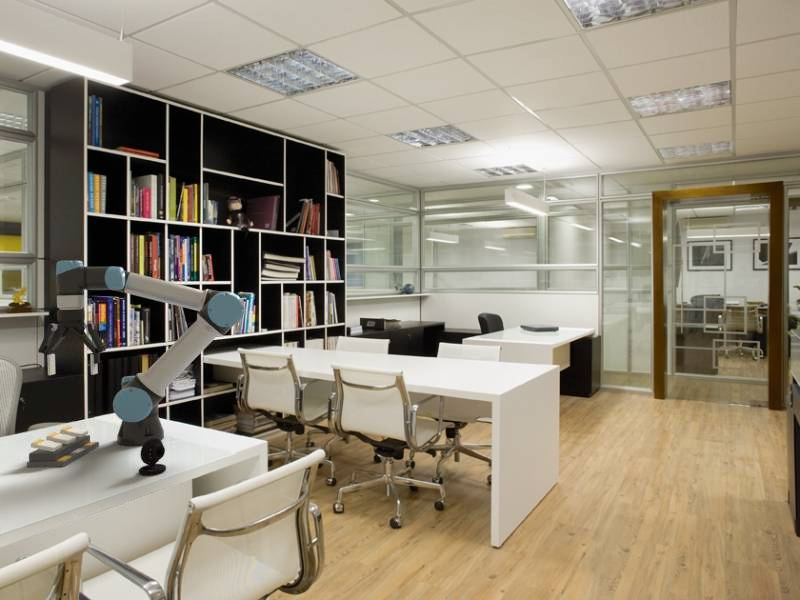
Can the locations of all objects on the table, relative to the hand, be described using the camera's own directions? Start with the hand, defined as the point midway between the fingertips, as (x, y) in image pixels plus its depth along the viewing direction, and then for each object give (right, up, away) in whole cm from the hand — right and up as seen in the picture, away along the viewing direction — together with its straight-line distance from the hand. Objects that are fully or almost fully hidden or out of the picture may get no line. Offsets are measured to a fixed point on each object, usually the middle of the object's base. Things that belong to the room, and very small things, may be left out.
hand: (73, 374), depth 179 cm
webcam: (+32, -27, -14) cm, 44 cm away
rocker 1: (-4, -21, -7) cm, 23 cm away
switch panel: (-3, -27, +1) cm, 27 cm away
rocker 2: (-4, -21, 0) cm, 21 cm away
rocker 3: (-4, -21, +8) cm, 23 cm away
